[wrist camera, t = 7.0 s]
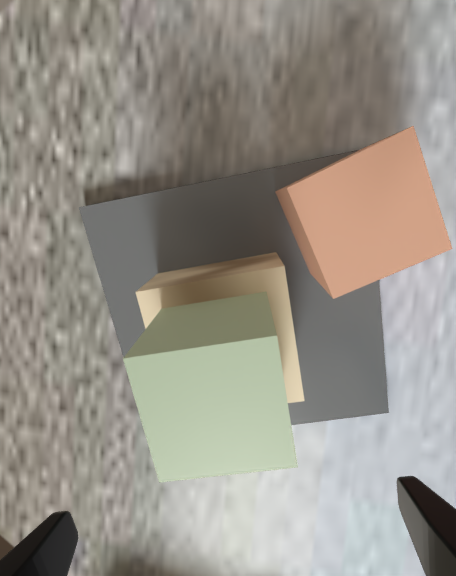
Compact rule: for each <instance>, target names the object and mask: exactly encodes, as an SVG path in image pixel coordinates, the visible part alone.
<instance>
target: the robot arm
mask: <svg viewBox="0 0 456 576" xmlns="http://www.w3.org/2000/svg"><path fill="white" fill-rule="evenodd" d="M397 493H398V504H399V508H400V512H401V514H402V517H403V519H404V522H405V524H406V527H407V529H408V532H409V534H410V537H411V539H412V542H413V544H414V547H415V550H416V552H417V555H418V557H419V560H420V562H421V565H422V567H423V570H424V572H425V574H426V576H456V509H455V508H454V507H453V506H451V505H450V504H449V503H448V502H446V501H445V500H444V499H443V498H441V497H440V496H439V495H437V494H436V493H435V492H434V491H432V490H431V489H430V488H429V487H427V486H426V485H425V484H424V483H422V482H421V481H420V480H419V479H417V478H416V477H414V476H405V477H399V478H398V479H397ZM77 542H78V531H77V529H76V526H75V523H74V521H73V518H72V516H71V513H70V512H68V511H61V512H55V513H53V514H51V515H50V516H49V517H48V518H47V519H46V520H45V521H43V522H42V523H41V524H40V525H39V526H38V527H37V528H36V529H35V530H33V531H32V532H31V533H30V534H29V535H28V536H27V537H26V538H24V539H23V540H22V541H21V542H20V543H19V544H18V545H17V546H15V547H14V548H13V549H12V550H11V551H10V552H9V553H8V554H7V555H5V556H4V557H3V558H2V559H1V560H0V576H67V575H68V571H69V568H70V565H71V562H72V558H73V555H74V552H75V549H76V545H77Z"/></svg>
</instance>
